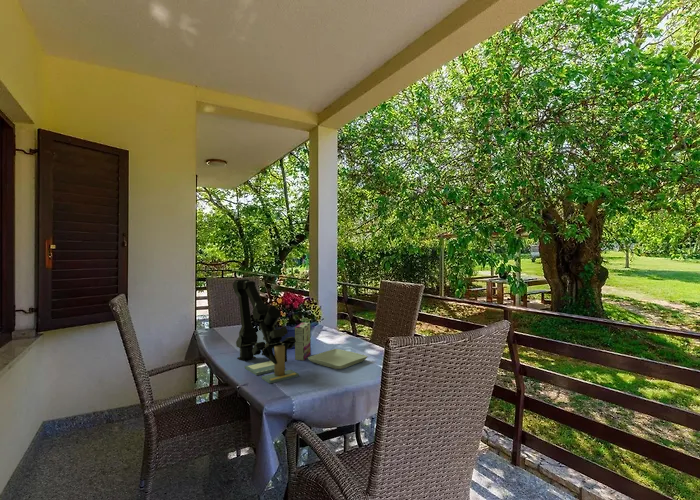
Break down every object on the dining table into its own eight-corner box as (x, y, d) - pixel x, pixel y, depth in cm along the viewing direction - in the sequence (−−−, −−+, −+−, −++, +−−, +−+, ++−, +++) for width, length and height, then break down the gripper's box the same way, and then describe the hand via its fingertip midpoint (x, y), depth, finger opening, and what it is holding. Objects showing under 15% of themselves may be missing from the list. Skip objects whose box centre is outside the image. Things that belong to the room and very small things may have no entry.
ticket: (244, 368, 173) (244, 365, 173) (272, 362, 182) (272, 360, 182) (256, 375, 164) (256, 372, 164) (285, 369, 172) (285, 366, 172)
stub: (261, 378, 160) (261, 347, 159) (290, 371, 168) (290, 342, 168) (269, 383, 154) (269, 351, 154) (299, 376, 163) (299, 345, 163)
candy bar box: (301, 353, 196) (301, 322, 196) (311, 354, 195) (311, 322, 195) (294, 360, 185) (294, 326, 185) (304, 361, 184) (304, 327, 184)
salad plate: (335, 354, 197) (335, 347, 197) (368, 362, 184) (368, 355, 184) (306, 364, 181) (306, 356, 181) (340, 373, 168) (340, 366, 168)
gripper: (255, 324, 159) (267, 356, 150) (294, 318, 170) (307, 348, 162) (247, 339, 165) (258, 371, 157) (285, 332, 177) (297, 362, 168)
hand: (281, 362), depth 161 cm, fingers closed on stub, 4 cm apart
